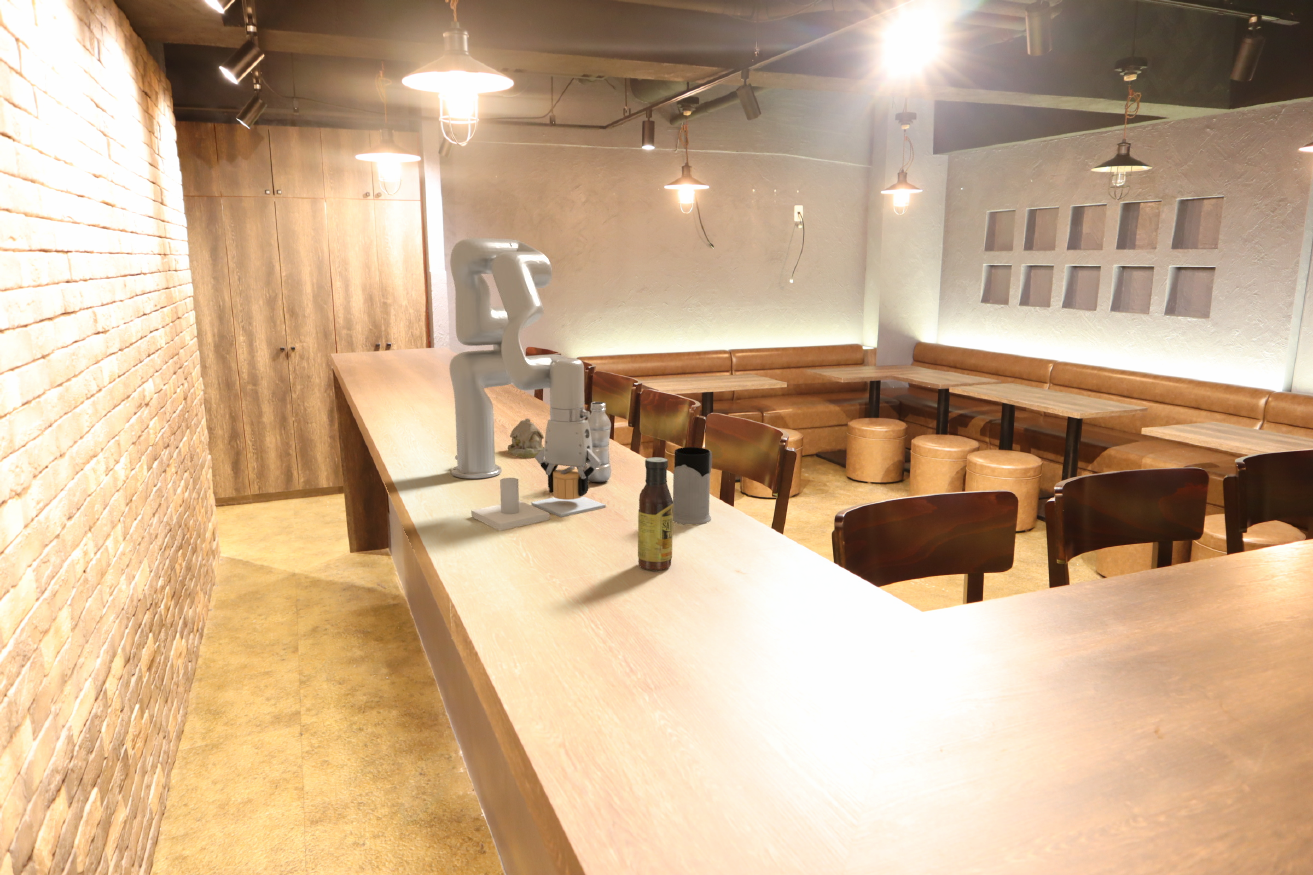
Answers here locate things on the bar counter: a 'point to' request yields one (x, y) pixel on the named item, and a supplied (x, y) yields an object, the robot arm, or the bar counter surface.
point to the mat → (568, 505)
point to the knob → (566, 483)
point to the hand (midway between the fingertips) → (568, 492)
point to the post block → (509, 509)
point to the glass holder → (691, 485)
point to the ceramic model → (526, 440)
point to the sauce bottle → (655, 518)
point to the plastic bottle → (600, 441)
